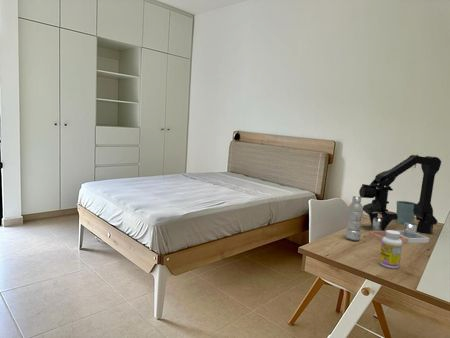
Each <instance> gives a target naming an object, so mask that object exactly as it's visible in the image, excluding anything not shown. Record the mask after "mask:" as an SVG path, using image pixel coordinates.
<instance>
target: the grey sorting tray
mask: <svg viewBox="0 0 450 338" xmlns="http://www.w3.org/2000/svg"><path fill="white" fill-rule="evenodd" d="M386 231H387V230H384V231H375V230H369V231H368V234H367V237H369V238H370V237H371V239H374V240H375V241H377V242H378V241H379V243H382V239H383V237H386ZM396 231H397V232H400V237H399V239H400V240H401V241H402V245H404V244H430V243H431V242H430V237H428V236H425V235H423V234H421V233H419V232H416V237H415V238H407V237H405V236H403V233H404V230H396Z"/></svg>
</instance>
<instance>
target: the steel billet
mask: <svg viewBox="0 0 450 338" xmlns="http://www.w3.org/2000/svg"><path fill="white" fill-rule="evenodd" d="M380 218H381V217H380V216H379V217H373V225H371V227H372V228H371V230H372V231H382V230H381V225H382V220H381V219H380Z"/></svg>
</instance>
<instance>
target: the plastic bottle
mask: <svg viewBox="0 0 450 338" xmlns="http://www.w3.org/2000/svg"><path fill="white" fill-rule="evenodd" d="M351 201H352V202H351V203H350V204H349V206H348V209H347V213H348V220H347V221H348V223H347V228H346V231H345V236H346V237H345V238H346V239H347V240H351V241H359V240H360V239H361V234H362V233H361V222H362V217H363V213H364V211H363V205H362V204H361V202H362V198H361V197H360V196H352V199H351Z"/></svg>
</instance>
